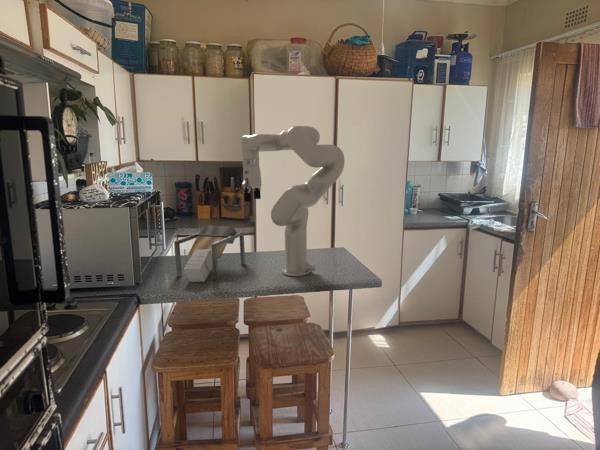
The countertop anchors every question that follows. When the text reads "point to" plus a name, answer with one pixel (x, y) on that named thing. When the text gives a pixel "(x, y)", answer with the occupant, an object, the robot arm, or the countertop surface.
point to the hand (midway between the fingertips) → (252, 200)
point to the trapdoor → (212, 238)
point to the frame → (214, 252)
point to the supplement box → (199, 265)
